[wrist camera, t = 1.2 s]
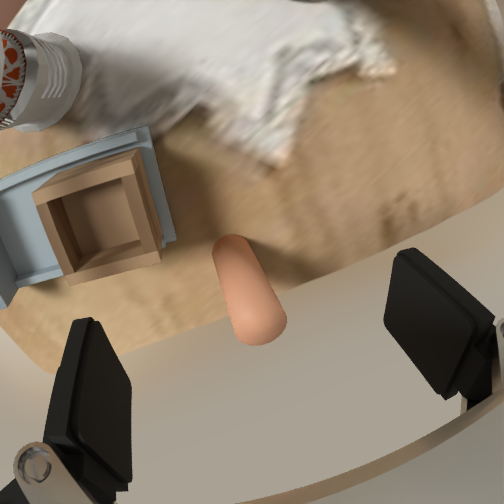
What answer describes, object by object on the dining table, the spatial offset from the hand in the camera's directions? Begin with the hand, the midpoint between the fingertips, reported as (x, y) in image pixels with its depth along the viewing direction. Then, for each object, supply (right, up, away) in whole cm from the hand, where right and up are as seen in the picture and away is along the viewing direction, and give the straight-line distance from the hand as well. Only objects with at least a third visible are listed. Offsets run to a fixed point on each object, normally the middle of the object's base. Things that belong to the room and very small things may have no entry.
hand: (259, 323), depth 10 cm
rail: (-18, +6, +18) cm, 26 cm away
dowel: (-2, +2, +24) cm, 25 cm away
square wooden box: (-13, +7, +17) cm, 22 cm away
